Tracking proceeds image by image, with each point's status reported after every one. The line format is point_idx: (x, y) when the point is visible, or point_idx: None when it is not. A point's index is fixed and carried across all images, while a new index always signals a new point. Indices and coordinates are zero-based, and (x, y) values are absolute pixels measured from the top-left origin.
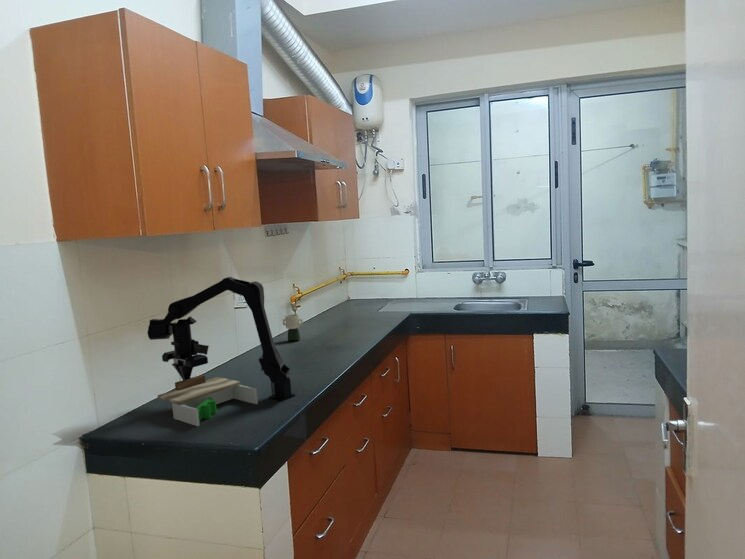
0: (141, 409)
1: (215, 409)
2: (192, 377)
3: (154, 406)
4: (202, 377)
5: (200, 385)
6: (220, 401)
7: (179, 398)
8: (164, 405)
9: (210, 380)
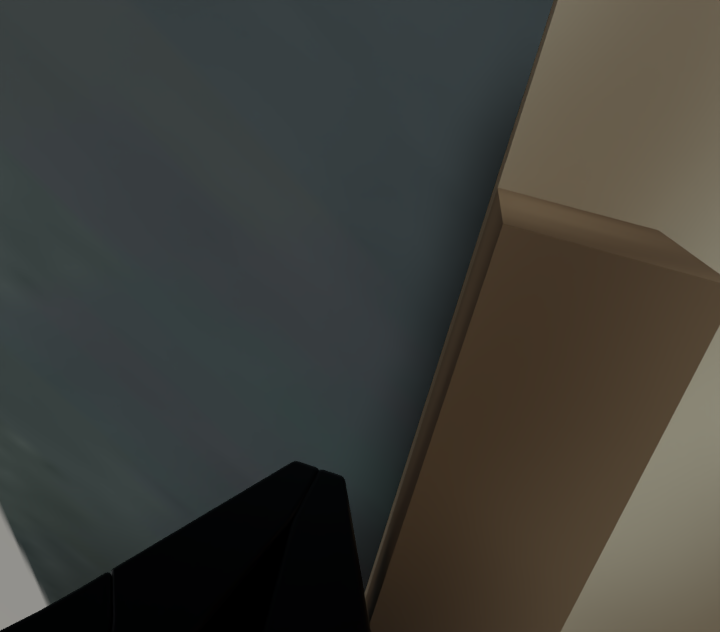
0: (71, 567)
1: None
2: (405, 532)
3: (107, 491)
4: (671, 367)
5: (683, 470)
6: None
7: None
8: (177, 455)
9: (702, 16)
